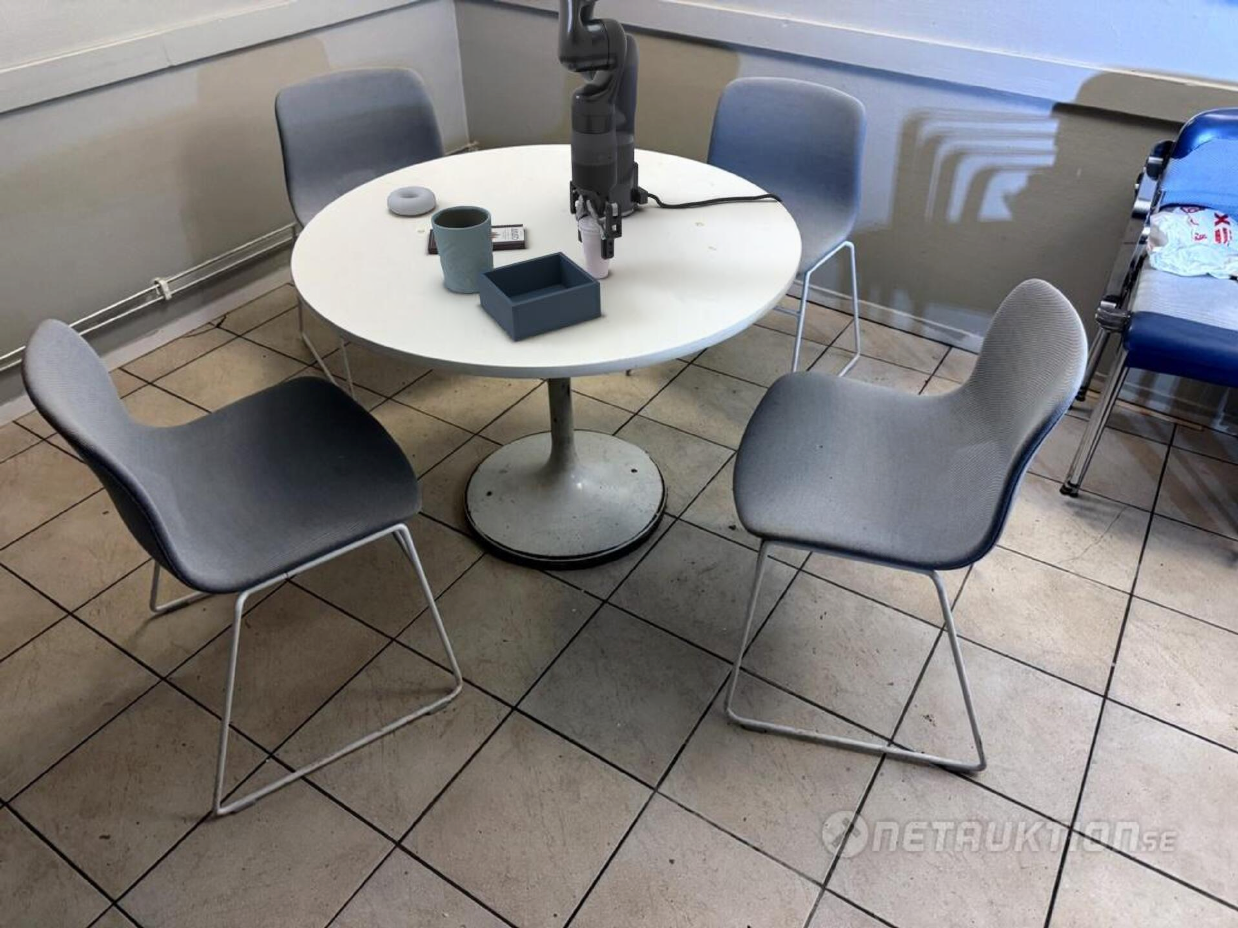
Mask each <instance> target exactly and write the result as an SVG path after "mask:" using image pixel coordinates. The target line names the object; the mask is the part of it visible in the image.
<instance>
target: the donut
mask: <svg viewBox="0 0 1238 928" xmlns="http://www.w3.org/2000/svg"><path fill="white" fill-rule="evenodd" d="M436 204H437V198H436V195H435V193H434V192H433V191H432V190H431V189H429V188H427V187H424V186H419V185H418V186H417V185H415V186H414V185H411V186H404V187H400V188H396V189H394V190H392V191H391V192H390V193H389V194H388V196H387V198H386V205H387V208H388V209H389V210H390V211H391V212H392V213H394V214H396V215H401V216H418V215H422V214H423V215H424V214H425V213H427V212H430V211H431V210H433V208H434V207H435V206H436Z"/></svg>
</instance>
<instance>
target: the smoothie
mask: <svg viewBox="0 0 1238 928" xmlns="http://www.w3.org/2000/svg"><path fill="white" fill-rule="evenodd" d="M600 220H605V217H604V218H600ZM578 225H579V226H578ZM614 227H615V228H616V225H614ZM578 229H579V230H580V231H581V238H582V243H581V244H582V250H583V255H584V263H585V269H586V272H587V273H589V274H590V275H591V276H592V277H594V278H595V279H603V278H606V277H607V276H608V275H609V268H610V259H607V260H604V259H603V258H601V235H600V232H599V229H598V227H596V226H595V225H594V222H593V218H592V217H591V216H587V217H584V218H582V219H580V220H579V222H578V221H577V230H578ZM604 229H605V232H606V225H604Z"/></svg>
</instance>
